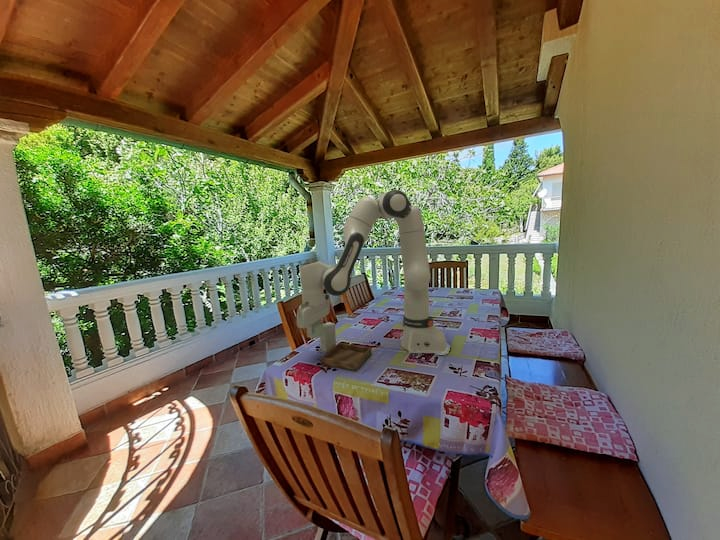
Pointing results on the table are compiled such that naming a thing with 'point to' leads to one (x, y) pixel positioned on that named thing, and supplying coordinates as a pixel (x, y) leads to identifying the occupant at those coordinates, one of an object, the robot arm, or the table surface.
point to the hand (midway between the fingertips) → (315, 330)
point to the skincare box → (328, 337)
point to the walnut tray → (346, 356)
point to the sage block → (316, 330)
